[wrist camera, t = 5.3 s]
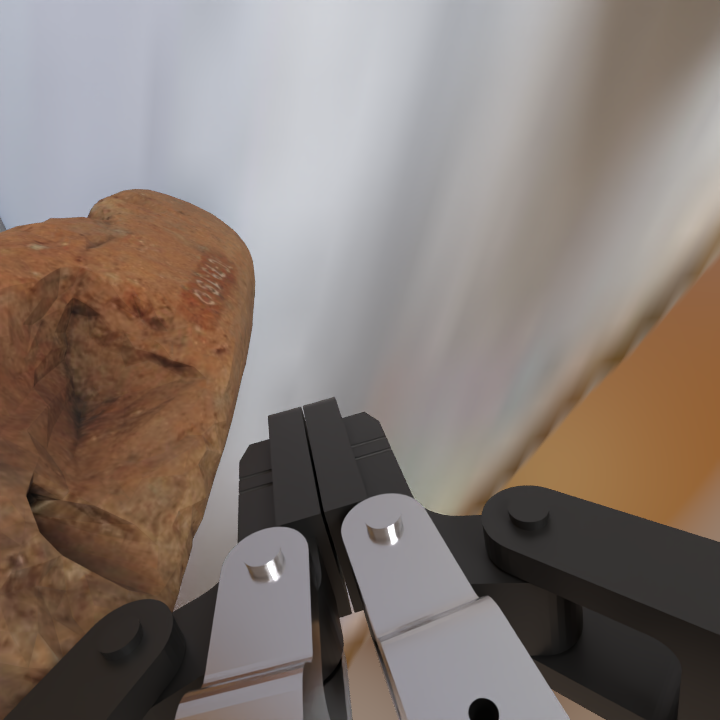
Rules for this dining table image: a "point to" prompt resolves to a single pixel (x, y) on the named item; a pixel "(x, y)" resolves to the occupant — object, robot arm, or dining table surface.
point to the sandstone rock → (109, 412)
